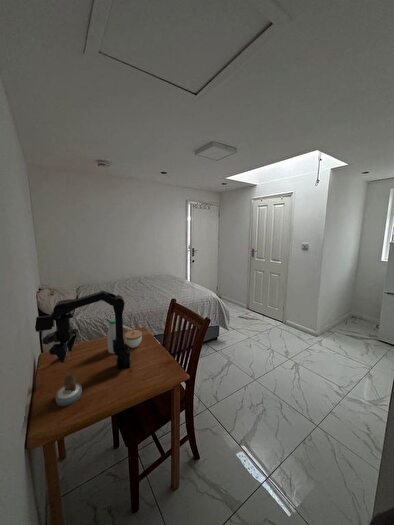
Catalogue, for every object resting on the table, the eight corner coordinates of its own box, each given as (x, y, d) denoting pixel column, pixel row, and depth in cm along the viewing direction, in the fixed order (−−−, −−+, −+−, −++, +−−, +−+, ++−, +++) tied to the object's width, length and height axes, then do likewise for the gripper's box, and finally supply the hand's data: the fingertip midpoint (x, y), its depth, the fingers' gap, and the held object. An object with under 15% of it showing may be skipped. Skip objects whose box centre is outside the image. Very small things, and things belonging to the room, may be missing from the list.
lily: (77, 352, 129) (69, 339, 128) (81, 353, 121) (72, 339, 120) (56, 366, 121) (47, 353, 120) (59, 369, 113) (49, 354, 112)
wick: (75, 388, 95) (74, 374, 94) (74, 390, 93) (73, 376, 92) (66, 389, 94) (64, 375, 93) (64, 392, 93) (63, 377, 92)
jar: (85, 387, 100) (84, 379, 99) (77, 404, 90) (76, 395, 89) (62, 390, 98) (61, 381, 97) (51, 407, 88) (50, 398, 88)
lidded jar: (122, 344, 137) (121, 331, 135) (137, 339, 144) (137, 326, 142) (129, 351, 129) (129, 337, 127) (145, 345, 136) (144, 332, 135)
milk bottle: (113, 355, 125) (111, 323, 122) (105, 351, 129) (103, 320, 126) (124, 349, 132) (122, 319, 128) (116, 345, 136) (114, 316, 132)
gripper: (53, 320, 108) (56, 347, 110) (33, 338, 90) (37, 371, 92) (77, 318, 110) (79, 345, 113) (62, 336, 92) (65, 368, 95)
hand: (66, 356), depth 103 cm, fingers open, 9 cm apart
